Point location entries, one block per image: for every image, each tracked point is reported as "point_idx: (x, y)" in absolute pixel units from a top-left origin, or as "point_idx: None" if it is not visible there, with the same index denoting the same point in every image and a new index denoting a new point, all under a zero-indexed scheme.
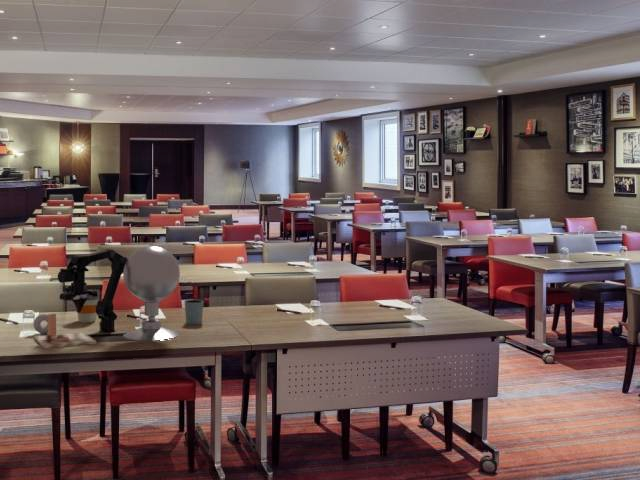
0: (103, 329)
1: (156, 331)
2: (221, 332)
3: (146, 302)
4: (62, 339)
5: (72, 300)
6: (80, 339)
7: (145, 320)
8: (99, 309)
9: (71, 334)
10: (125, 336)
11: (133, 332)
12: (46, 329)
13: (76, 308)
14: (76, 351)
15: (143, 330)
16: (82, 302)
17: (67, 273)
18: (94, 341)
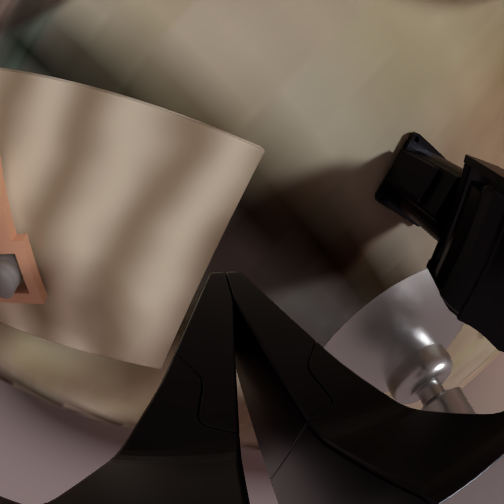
0: (396, 191)
1: (382, 391)
2: (454, 378)
3: None
4: (12, 300)
5: (86, 484)
6: (111, 311)
7: (418, 388)
8: (487, 255)
9: (142, 151)
10: (340, 334)
11: (370, 350)
12: None
13: (194, 312)
14: (48, 387)
15: (376, 378)
16: (271, 479)
17: None
18: (152, 366)
